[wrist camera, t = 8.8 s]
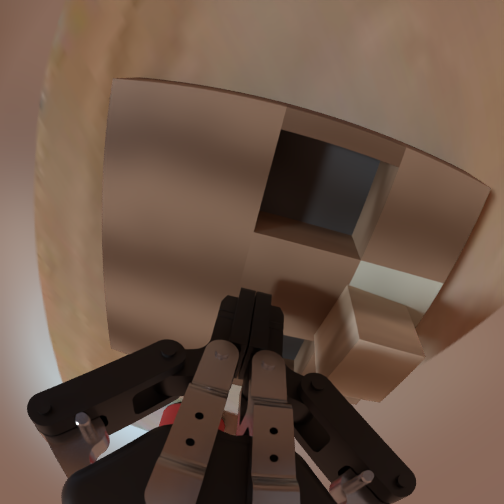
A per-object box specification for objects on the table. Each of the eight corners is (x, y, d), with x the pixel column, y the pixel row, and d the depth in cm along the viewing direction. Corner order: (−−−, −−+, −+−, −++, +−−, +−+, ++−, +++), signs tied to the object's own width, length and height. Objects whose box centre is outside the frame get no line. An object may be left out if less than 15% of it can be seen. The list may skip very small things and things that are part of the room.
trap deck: (140, 77, 14) (112, 78, 12) (464, 170, 15) (490, 188, 12) (125, 322, 23) (110, 348, 21) (352, 375, 24) (356, 404, 21)
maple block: (347, 284, 16) (359, 339, 12) (405, 305, 16) (425, 356, 13) (313, 335, 18) (316, 390, 14) (369, 351, 18) (379, 402, 15)
